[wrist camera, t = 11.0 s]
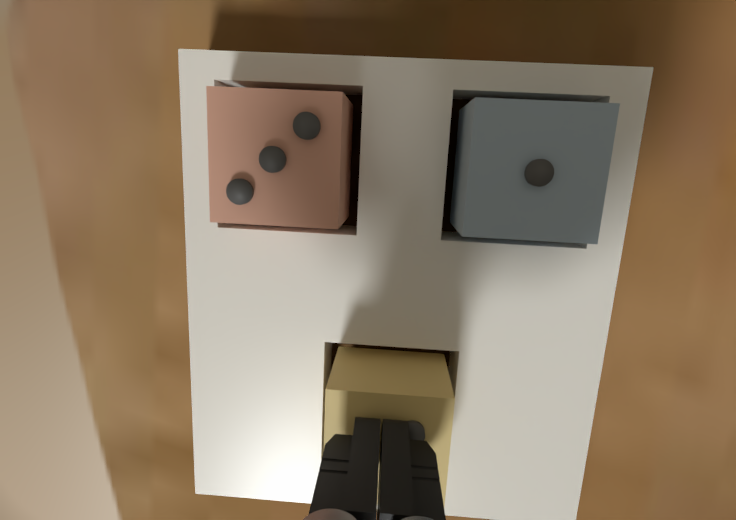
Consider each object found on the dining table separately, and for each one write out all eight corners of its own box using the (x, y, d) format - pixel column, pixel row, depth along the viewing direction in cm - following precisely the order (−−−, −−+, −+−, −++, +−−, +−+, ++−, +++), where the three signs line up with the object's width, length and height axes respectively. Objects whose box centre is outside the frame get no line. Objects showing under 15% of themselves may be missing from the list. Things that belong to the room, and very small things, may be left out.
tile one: (574, 114, 14) (623, 102, 11) (558, 228, 15) (600, 245, 12) (459, 109, 15) (476, 96, 11) (449, 222, 15) (462, 237, 12)
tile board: (619, 79, 15) (653, 67, 13) (555, 486, 18) (574, 526, 16) (206, 63, 15) (178, 48, 13) (216, 458, 18) (195, 493, 17)
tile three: (353, 105, 15) (341, 90, 12) (348, 216, 15) (337, 230, 12) (243, 100, 15) (202, 84, 12) (244, 210, 16) (207, 222, 13)
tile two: (443, 353, 15) (456, 402, 12) (435, 447, 16) (444, 515, 13) (338, 346, 16) (324, 392, 13) (335, 439, 16) (320, 505, 13)
